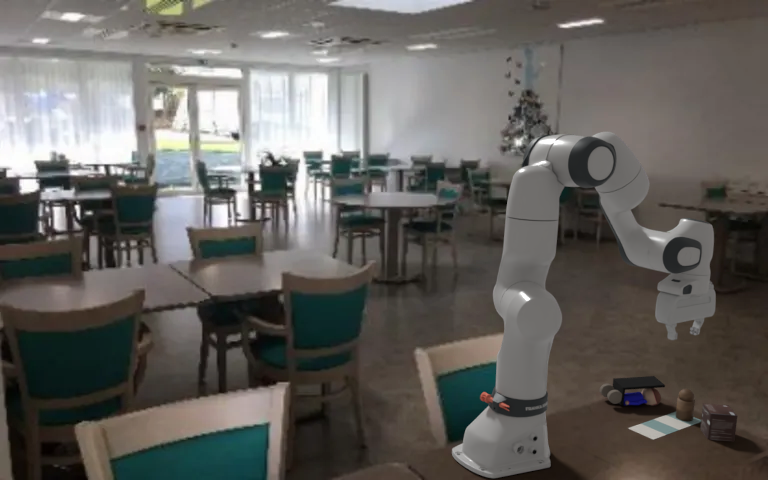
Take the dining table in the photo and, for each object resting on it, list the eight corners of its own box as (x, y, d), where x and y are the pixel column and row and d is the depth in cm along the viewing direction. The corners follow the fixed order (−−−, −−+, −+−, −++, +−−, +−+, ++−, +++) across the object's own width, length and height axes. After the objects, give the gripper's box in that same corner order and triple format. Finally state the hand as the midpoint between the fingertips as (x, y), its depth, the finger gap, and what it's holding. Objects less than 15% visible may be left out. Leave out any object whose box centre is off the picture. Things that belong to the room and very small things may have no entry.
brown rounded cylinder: (686, 422, 164) (689, 393, 163) (672, 416, 167) (674, 388, 166) (696, 419, 166) (699, 390, 165) (681, 413, 169) (684, 385, 168)
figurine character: (610, 417, 172) (666, 409, 173) (609, 389, 171) (665, 381, 172) (599, 406, 179) (653, 399, 180) (598, 379, 177) (652, 372, 179)
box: (699, 431, 161) (702, 402, 160) (725, 433, 160) (728, 404, 159) (707, 442, 155) (710, 413, 154) (734, 445, 154) (738, 415, 153)
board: (652, 442, 155) (653, 439, 154) (627, 431, 160) (627, 428, 160) (702, 423, 165) (703, 420, 165) (677, 413, 171) (677, 410, 171)
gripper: (701, 277, 173) (696, 328, 176) (653, 284, 162) (647, 338, 165) (725, 282, 168) (718, 334, 170) (676, 289, 157) (670, 345, 159)
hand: (683, 336), depth 167 cm, fingers open, 8 cm apart
